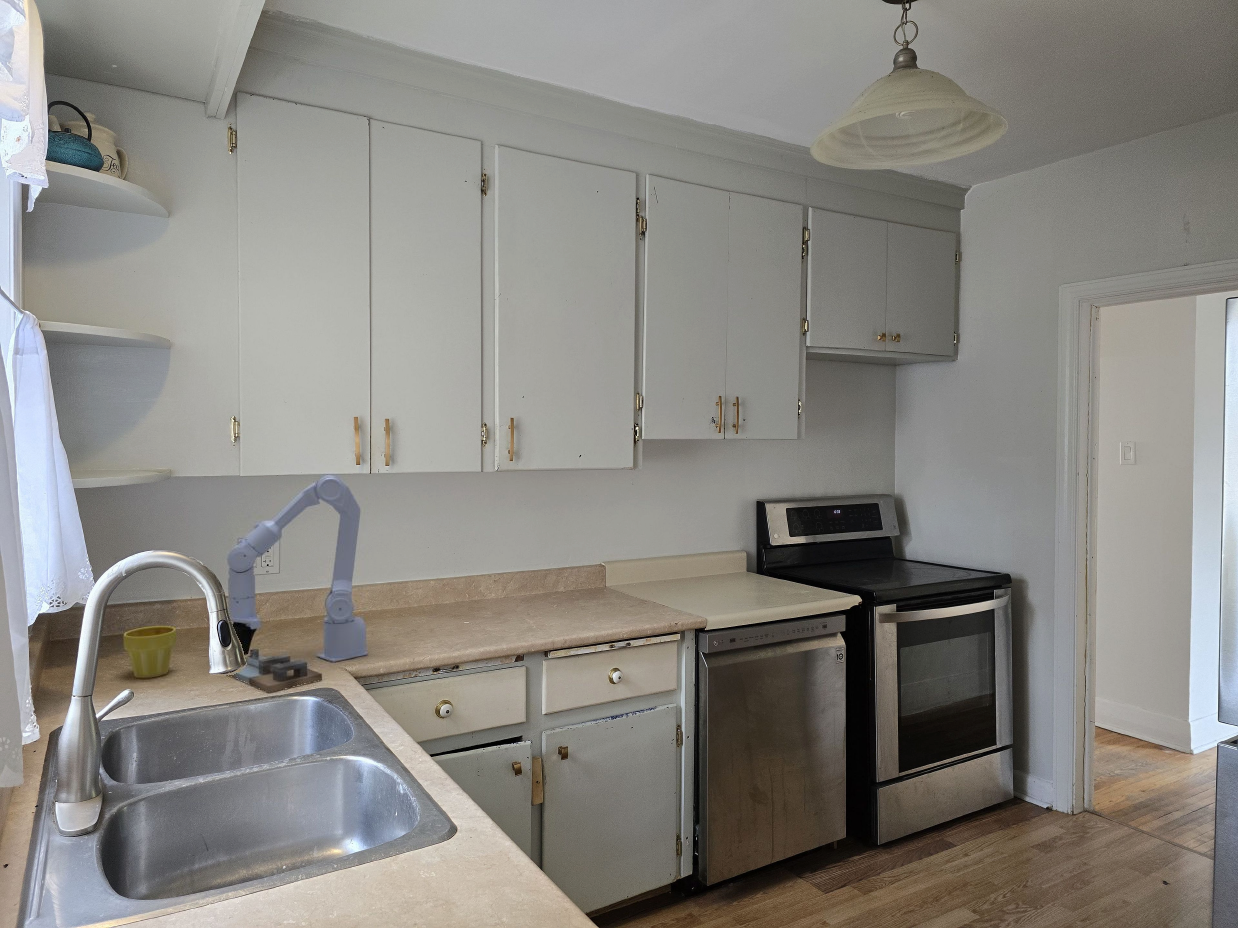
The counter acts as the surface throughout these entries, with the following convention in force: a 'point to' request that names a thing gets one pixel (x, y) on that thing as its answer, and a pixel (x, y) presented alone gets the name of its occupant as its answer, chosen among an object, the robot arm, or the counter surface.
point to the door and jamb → (277, 673)
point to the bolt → (257, 659)
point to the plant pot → (150, 650)
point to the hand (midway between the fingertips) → (242, 654)
